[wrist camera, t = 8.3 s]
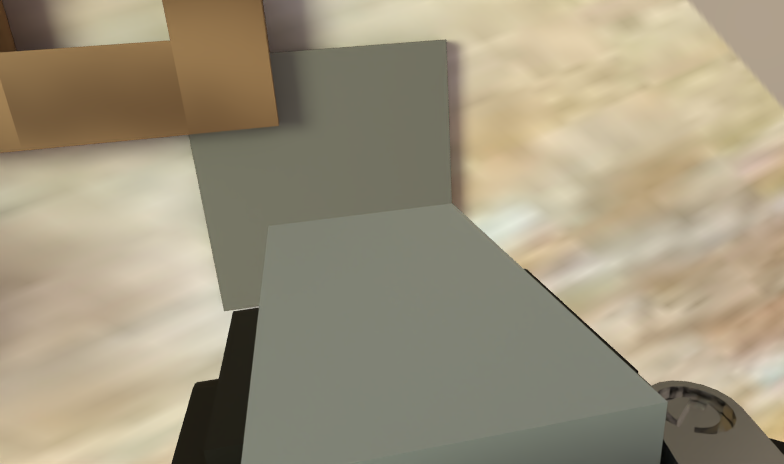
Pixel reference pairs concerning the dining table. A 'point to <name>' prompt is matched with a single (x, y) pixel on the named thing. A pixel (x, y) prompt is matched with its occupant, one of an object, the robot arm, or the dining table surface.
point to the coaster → (326, 151)
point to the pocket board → (142, 82)
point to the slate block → (430, 354)
